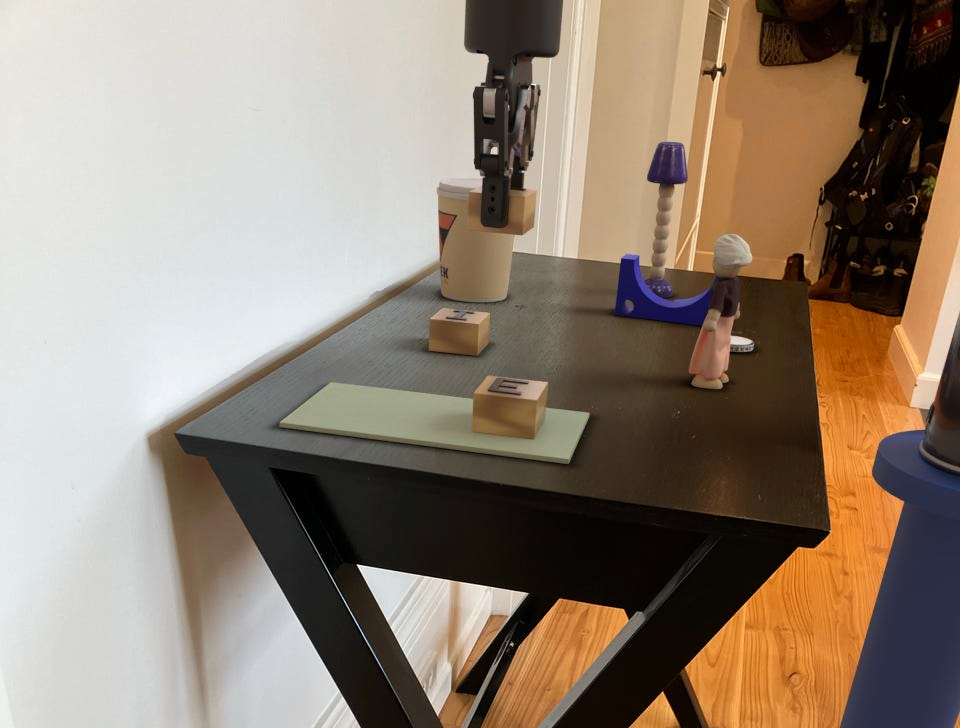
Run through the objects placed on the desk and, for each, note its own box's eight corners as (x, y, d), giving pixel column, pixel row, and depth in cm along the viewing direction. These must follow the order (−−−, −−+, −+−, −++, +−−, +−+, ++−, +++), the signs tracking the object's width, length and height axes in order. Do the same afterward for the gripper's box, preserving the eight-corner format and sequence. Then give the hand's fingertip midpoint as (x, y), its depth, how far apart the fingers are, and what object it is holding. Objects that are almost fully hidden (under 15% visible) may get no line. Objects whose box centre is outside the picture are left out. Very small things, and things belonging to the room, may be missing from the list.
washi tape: (753, 353, 100) (754, 347, 100) (713, 349, 101) (714, 343, 100) (752, 343, 104) (753, 337, 103) (713, 339, 104) (714, 333, 104)
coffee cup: (437, 284, 121) (440, 175, 115) (514, 288, 121) (521, 180, 115) (430, 301, 113) (433, 185, 107) (513, 306, 113) (521, 191, 107)
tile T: (534, 227, 87) (537, 188, 86) (522, 235, 83) (525, 194, 82) (480, 222, 88) (482, 183, 87) (466, 230, 84) (468, 189, 82)
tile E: (545, 419, 79) (548, 380, 77) (534, 439, 75) (537, 398, 73) (485, 412, 79) (487, 373, 78) (471, 431, 75) (473, 391, 74)
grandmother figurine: (692, 369, 94) (715, 225, 88) (733, 375, 93) (759, 230, 87) (681, 392, 88) (704, 239, 82) (725, 398, 87) (752, 243, 81)
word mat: (589, 417, 81) (589, 412, 81) (568, 464, 72) (568, 459, 71) (330, 386, 85) (330, 381, 84) (279, 427, 75) (279, 422, 75)
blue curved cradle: (727, 319, 113) (736, 263, 110) (722, 328, 109) (732, 270, 106) (622, 306, 116) (629, 251, 113) (614, 314, 112) (621, 258, 109)
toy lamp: (663, 300, 120) (684, 145, 111) (627, 294, 122) (645, 141, 113) (677, 294, 123) (698, 143, 115) (642, 288, 125) (660, 139, 117)
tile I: (488, 343, 99) (490, 311, 97) (477, 356, 95) (479, 322, 93) (441, 338, 100) (442, 306, 98) (428, 350, 96) (429, 317, 94)
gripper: (545, -20, 70) (527, 240, 79) (579, -9, 82) (559, 215, 91) (442, -25, 71) (435, 231, 80) (489, -14, 83) (479, 207, 92)
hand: (501, 221), depth 85 cm, fingers closed on tile T, 4 cm apart
